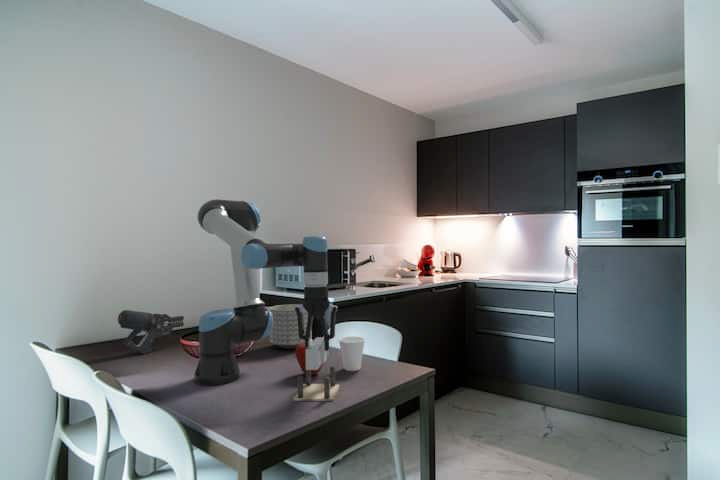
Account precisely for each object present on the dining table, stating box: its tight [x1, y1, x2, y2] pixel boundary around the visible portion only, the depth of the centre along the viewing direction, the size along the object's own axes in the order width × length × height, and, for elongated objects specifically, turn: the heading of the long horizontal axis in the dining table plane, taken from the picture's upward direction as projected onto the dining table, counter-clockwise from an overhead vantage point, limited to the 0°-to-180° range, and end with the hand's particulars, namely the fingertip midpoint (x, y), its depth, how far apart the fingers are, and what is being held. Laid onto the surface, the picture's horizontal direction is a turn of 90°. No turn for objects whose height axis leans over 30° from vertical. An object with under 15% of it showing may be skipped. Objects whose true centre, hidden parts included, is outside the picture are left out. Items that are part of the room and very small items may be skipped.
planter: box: [268, 303, 313, 350], centre depth 189 cm, size 19×19×18 cm
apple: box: [294, 342, 324, 376], centre depth 147 cm, size 11×11×12 cm
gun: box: [117, 309, 185, 355], centre depth 184 cm, size 7×28×20 cm, turn 144°
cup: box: [338, 336, 366, 372], centre depth 153 cm, size 10×10×11 cm
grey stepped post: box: [306, 336, 329, 370], centre depth 128 cm, size 17×4×6 cm, turn 175°
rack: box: [292, 365, 340, 402], centre depth 128 cm, size 12×13×7 cm
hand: (317, 361), depth 128 cm, fingers closed on grey stepped post, 3 cm apart
